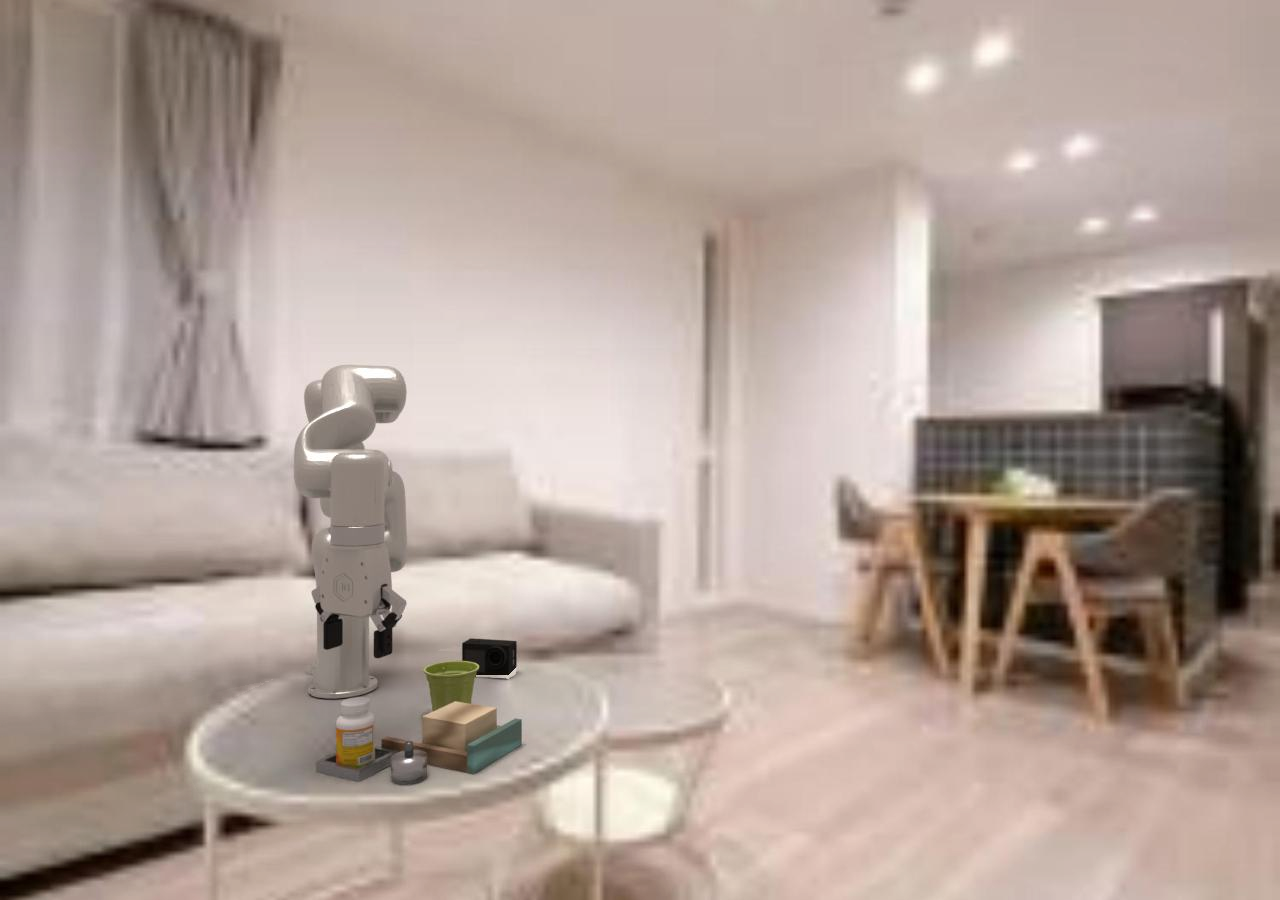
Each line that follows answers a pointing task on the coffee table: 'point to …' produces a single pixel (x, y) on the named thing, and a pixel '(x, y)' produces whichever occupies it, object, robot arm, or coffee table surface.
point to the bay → (463, 737)
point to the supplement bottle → (355, 733)
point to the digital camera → (491, 655)
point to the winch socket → (382, 765)
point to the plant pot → (450, 682)
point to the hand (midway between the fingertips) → (357, 651)
